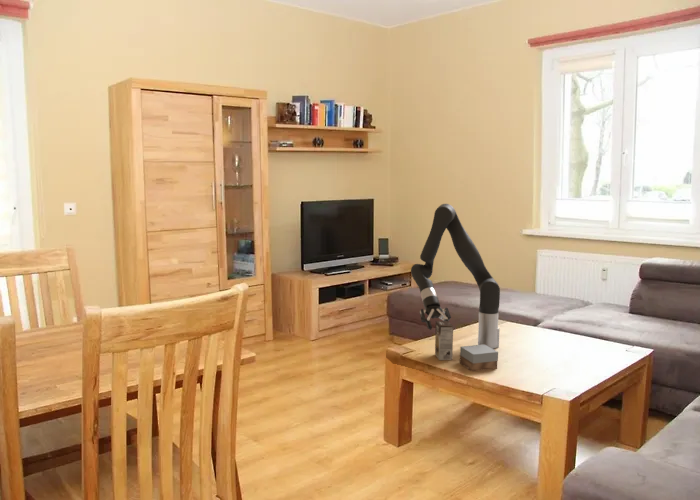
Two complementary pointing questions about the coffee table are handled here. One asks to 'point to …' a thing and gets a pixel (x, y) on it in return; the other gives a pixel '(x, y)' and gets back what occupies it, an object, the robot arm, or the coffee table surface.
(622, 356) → the coffee table surface
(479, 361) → the top slab
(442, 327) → the coffee box
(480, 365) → the base slab
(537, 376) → the coffee table surface
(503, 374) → the coffee table surface
